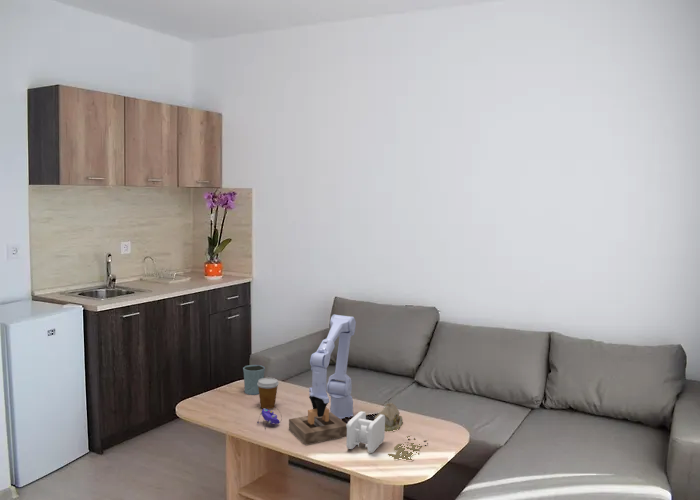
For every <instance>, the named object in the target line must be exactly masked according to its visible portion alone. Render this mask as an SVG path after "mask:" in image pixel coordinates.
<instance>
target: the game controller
mask: <svg viewBox="0 0 700 500" xmlns="http://www.w3.org/2000/svg"><path fill="white" fill-rule="evenodd" d="M266 407H267V406H266ZM273 407H274V406H273ZM274 408H276V409H277V407H276V406H275V407H274ZM278 412H279V413H281V411H280V410H278ZM280 416H281V420H280V419H278V415H277V414H275V412H274V411H273V410H271V409H265V408H264V409H263V408H262V410H261V412H260V414H259V417H258V421H257V423H256V424H259V420H260V418H261V417H262V419H263V424H265V422H264V421H266V422H267V424H268V423H269V424H274V425H278V424H280V423H281V421H282V420H283V418H282V415H280ZM266 427H267V426H263V428H264V430H266Z"/></svg>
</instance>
